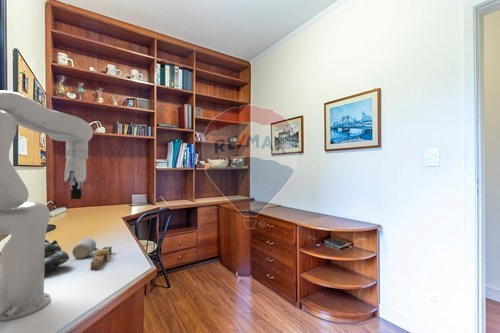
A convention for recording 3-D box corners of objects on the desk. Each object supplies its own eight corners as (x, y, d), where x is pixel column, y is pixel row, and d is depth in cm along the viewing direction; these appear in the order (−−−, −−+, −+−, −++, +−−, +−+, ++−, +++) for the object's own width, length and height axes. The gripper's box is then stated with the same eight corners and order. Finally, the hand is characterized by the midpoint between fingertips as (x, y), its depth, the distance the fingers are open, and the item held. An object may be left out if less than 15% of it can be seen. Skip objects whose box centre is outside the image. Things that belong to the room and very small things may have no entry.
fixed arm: (95, 269, 96) (95, 261, 96) (90, 270, 96) (90, 262, 96) (106, 254, 113) (106, 247, 113) (102, 254, 113) (102, 248, 113)
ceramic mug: (70, 260, 106) (71, 243, 106) (77, 254, 114) (78, 238, 114) (97, 258, 109) (98, 241, 109) (102, 252, 117) (103, 237, 117)
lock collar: (107, 261, 105) (107, 250, 105) (94, 262, 103) (94, 251, 103) (108, 259, 107) (109, 248, 107) (95, 260, 105) (96, 249, 105)
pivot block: (110, 255, 113) (110, 248, 113) (102, 255, 112) (102, 249, 112) (111, 253, 115) (111, 246, 115) (104, 253, 114) (104, 247, 114)
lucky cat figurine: (23, 284, 84) (7, 249, 85) (24, 285, 92) (10, 253, 93) (72, 260, 95) (58, 229, 96) (69, 263, 103) (56, 235, 104)
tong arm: (98, 269, 96) (98, 262, 96) (94, 270, 95) (94, 262, 96) (109, 255, 111) (109, 249, 111) (105, 256, 111) (105, 249, 111)
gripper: (73, 155, 104) (72, 197, 104) (58, 153, 90) (57, 201, 90) (93, 156, 106) (92, 196, 106) (81, 154, 92) (80, 200, 92)
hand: (76, 198), depth 98 cm, fingers closed
